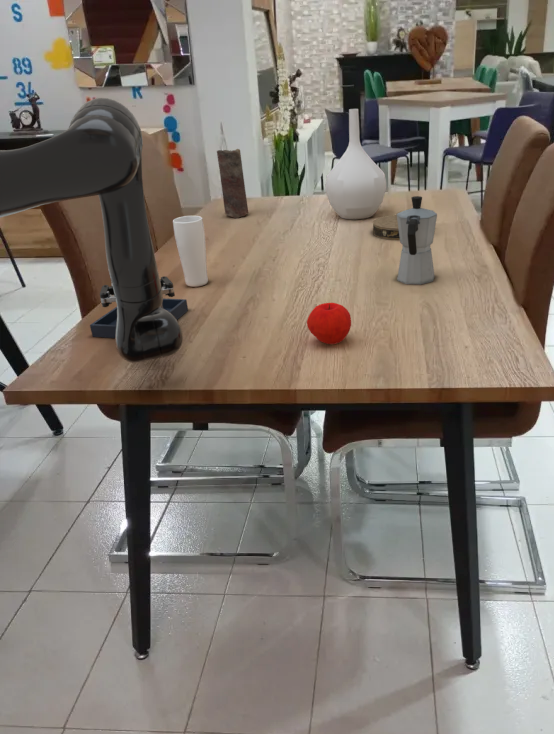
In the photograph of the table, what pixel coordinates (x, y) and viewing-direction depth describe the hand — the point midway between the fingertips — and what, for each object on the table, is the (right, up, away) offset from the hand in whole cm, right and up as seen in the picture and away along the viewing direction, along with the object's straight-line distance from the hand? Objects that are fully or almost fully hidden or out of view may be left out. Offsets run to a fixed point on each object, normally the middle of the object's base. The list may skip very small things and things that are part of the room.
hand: (134, 280), depth 139 cm
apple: (+39, -14, -12) cm, 43 cm away
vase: (+49, +35, +72) cm, 94 cm away
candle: (+11, +38, +81) cm, 91 cm away
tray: (+1, -8, +2) cm, 9 cm away
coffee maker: (+59, +3, +16) cm, 61 cm away
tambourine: (+60, +24, +53) cm, 84 cm away
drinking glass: (+9, +4, +23) cm, 25 cm away
